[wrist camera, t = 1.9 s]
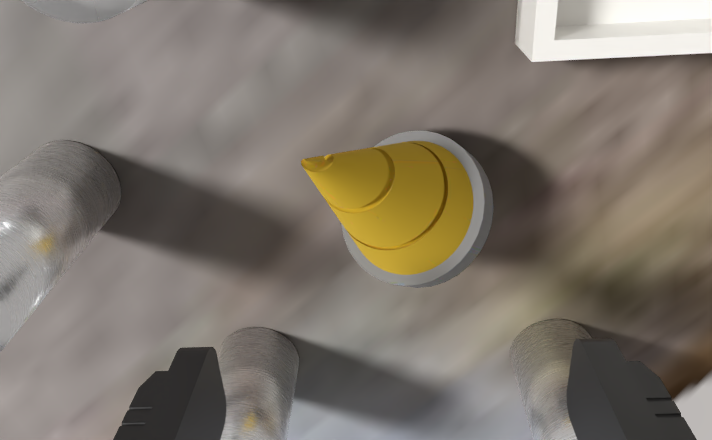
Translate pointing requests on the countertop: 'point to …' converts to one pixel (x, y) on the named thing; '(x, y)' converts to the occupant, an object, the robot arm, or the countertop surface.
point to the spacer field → (242, 348)
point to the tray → (612, 28)
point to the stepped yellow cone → (408, 206)
